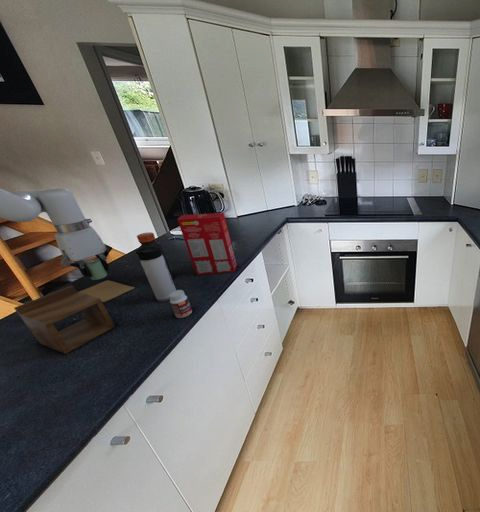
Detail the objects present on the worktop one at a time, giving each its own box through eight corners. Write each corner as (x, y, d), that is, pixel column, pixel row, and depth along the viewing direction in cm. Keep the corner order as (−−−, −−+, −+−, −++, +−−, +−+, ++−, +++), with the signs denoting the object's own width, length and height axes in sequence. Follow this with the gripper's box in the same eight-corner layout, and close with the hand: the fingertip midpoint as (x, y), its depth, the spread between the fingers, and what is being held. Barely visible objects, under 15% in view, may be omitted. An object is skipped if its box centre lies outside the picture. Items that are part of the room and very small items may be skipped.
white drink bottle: (154, 278, 112) (136, 233, 103) (174, 274, 115) (158, 230, 106) (151, 286, 107) (131, 239, 98) (172, 282, 110) (154, 236, 101)
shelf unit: (40, 343, 79) (13, 307, 73) (91, 318, 89) (71, 285, 83) (65, 354, 76) (40, 317, 70) (115, 326, 86) (97, 292, 80)
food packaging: (237, 266, 122) (223, 212, 111) (234, 272, 118) (220, 216, 107) (200, 269, 119) (182, 214, 108) (196, 275, 115) (177, 219, 103)
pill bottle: (184, 319, 90) (176, 298, 86) (172, 317, 90) (163, 296, 87) (195, 310, 94) (188, 289, 90) (183, 308, 95) (175, 288, 91)
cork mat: (76, 294, 101) (75, 293, 101) (107, 280, 110) (107, 280, 110) (104, 302, 97) (103, 301, 97) (135, 288, 105) (134, 287, 105)
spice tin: (87, 278, 99) (78, 261, 96) (102, 272, 103) (94, 256, 100) (95, 281, 98) (86, 264, 95) (110, 274, 102) (102, 258, 99)
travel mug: (151, 300, 98) (129, 251, 90) (168, 290, 104) (149, 243, 95) (165, 303, 97) (144, 253, 88) (181, 293, 103) (163, 245, 94)
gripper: (95, 217, 100) (116, 261, 108) (30, 233, 86) (60, 282, 94) (109, 220, 98) (129, 264, 106) (44, 237, 83) (74, 287, 92)
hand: (97, 272), depth 100 cm, fingers closed on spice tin, 4 cm apart
